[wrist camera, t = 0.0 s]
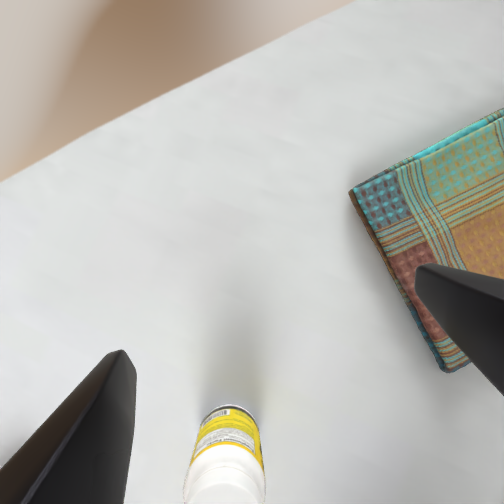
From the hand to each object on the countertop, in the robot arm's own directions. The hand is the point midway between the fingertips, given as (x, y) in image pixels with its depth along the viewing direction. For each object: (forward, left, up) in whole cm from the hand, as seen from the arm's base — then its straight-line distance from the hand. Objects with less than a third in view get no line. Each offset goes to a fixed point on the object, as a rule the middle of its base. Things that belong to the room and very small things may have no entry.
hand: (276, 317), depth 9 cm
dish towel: (-10, -20, -15) cm, 27 cm away
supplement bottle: (-6, +9, -15) cm, 19 cm away
